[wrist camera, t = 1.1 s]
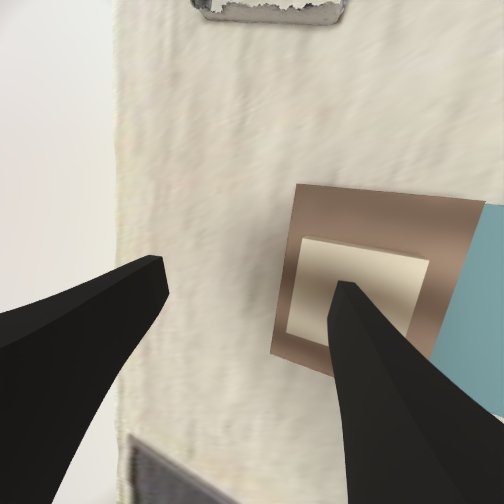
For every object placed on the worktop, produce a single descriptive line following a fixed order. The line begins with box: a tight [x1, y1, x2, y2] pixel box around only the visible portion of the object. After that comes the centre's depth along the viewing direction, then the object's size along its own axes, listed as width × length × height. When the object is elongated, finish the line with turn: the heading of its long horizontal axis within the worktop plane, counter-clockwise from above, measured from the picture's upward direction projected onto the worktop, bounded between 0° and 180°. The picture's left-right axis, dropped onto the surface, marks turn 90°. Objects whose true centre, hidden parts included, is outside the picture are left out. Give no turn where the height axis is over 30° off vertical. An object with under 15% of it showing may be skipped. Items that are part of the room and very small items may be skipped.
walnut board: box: [270, 184, 486, 377], centre depth 19 cm, size 16×12×3 cm
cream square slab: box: [286, 235, 429, 346], centre depth 17 cm, size 8×8×2 cm
